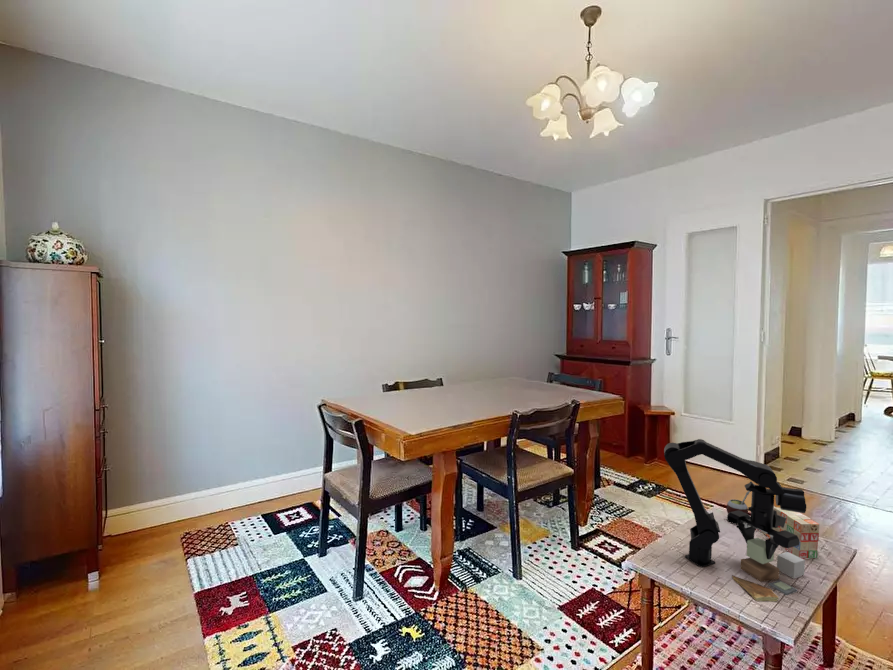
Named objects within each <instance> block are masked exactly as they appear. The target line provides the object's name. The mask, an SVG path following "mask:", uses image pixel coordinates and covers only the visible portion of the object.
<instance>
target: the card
mask: <svg viewBox="0 0 893 670" xmlns="http://www.w3.org/2000/svg"><path fill="white" fill-rule="evenodd" d="M768 586H769V587H770V588H771V589H774V590H776V591H778V592H780V593H781V594H783V595H784V596H788V595H791V594H794V593H797V592H798V589H797V588H795V587H793V586H792V585H790V584H788V583H786V582H785V581H782V580H781V579H776V580H773V581H772V582H769V583H768Z"/></svg>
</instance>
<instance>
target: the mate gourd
mask: <svg viewBox="0 0 893 670" xmlns="http://www.w3.org/2000/svg"><path fill="white" fill-rule="evenodd" d="M750 492H751V493H752V491H746V493H745V496H744V497H743V499H742V500H739V499H729V500H728V501H727V505H726V512H727V514H728V513H729V512H733V511H738V510H740V511H742V512H744V513H746V514H749V511H748V505H747V504H746V503H745V501H746V499H747V497H748V496H749V494H750Z"/></svg>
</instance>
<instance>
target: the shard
mask: <svg viewBox="0 0 893 670" xmlns="http://www.w3.org/2000/svg"><path fill="white" fill-rule="evenodd" d="M731 577H732V580H733V581H734V582H735V583H737V584H738V585H739V586H741V588H742V589H743V590H745V591H746V592H747V593H748V594H749V595H750V596H751V597H752V598H753V599H754V600H755V601H756V602H777V601H778V600H779V595H777V594H776V593H775V592H774V591H773V588H769V587H767V586H765V585H761V584H758V583H757V582H753V581H751V580H747V579H744V578H741V577H739V576H736V575H734V574H732V575H731Z"/></svg>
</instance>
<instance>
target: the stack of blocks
mask: <svg viewBox="0 0 893 670" xmlns="http://www.w3.org/2000/svg"><path fill="white" fill-rule="evenodd" d="M774 510H775V511H776V512H777V514H778V515H780V516H782V517H785V518H786V522H785V525H784V528H782V527H781V526H778V528H773V530H775V531H778V532H780V531H783V530H786V531H788V532H790V533H793V534H795V535H797V536H798V538H799V545H798V546H794V547H791V548H784V547H782V548H783V549H785V550H786V551H787V550H788V551H787V552H789V553H791V554H793V555H795V556H798V557H800V558H817V559H818V552H819V551H818V548H819V547H818V546H819V540H820V539H819V534H820V523H818V522H816V521H815V520H813V519H812V518H810V517H809V516H808V515H805V514H804V513H799V512H793V511H787V510H781V508H780V507H777V506H775V505H774ZM760 532H761V533H762V534H764V535H765V536H766V537H767V538H768V539H770V535H769V534H767V533H764V532H762V531H760Z"/></svg>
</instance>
